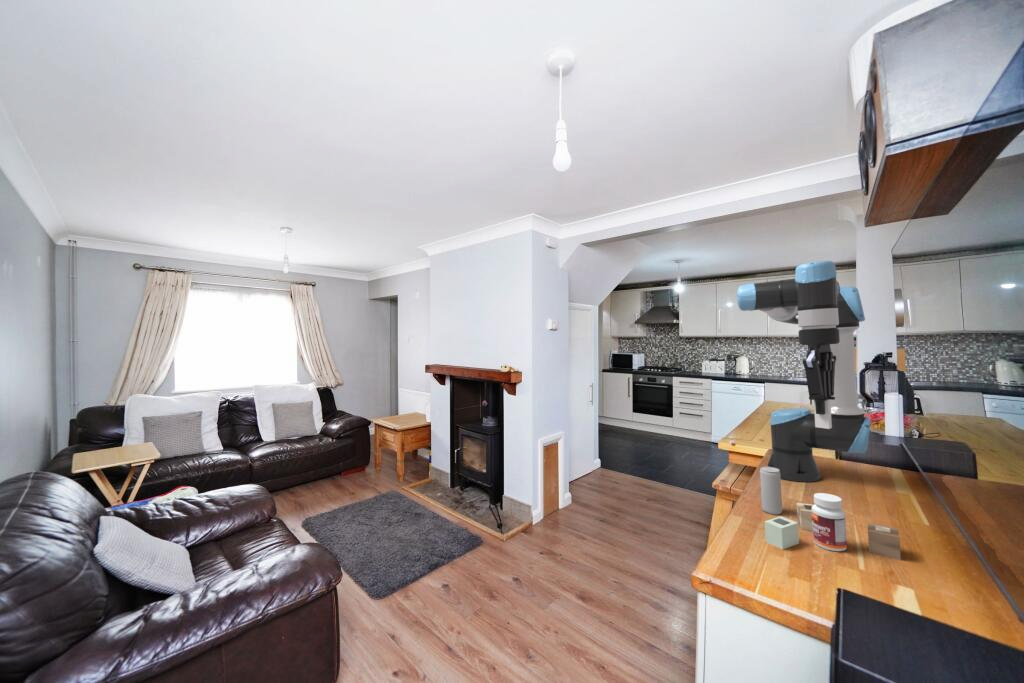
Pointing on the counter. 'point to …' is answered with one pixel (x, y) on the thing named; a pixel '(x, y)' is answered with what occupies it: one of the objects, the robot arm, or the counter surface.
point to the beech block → (804, 516)
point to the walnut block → (884, 541)
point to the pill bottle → (829, 522)
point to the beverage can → (771, 490)
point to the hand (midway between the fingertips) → (823, 427)
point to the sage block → (781, 532)
